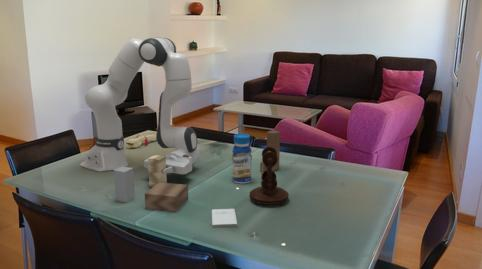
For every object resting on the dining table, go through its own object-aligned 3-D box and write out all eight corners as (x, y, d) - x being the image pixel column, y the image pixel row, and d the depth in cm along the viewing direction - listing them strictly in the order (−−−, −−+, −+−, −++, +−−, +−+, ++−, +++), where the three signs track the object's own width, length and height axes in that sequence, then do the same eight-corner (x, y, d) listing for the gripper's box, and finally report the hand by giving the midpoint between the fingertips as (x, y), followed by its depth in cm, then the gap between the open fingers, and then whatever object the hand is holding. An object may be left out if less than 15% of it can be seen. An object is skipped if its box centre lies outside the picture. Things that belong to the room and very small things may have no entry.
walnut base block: (145, 209, 154) (144, 193, 153) (159, 196, 166) (158, 182, 164) (176, 212, 152) (176, 196, 150) (188, 199, 163) (187, 184, 161)
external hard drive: (212, 229, 140) (211, 213, 152) (237, 228, 140) (234, 212, 152) (212, 224, 139) (211, 209, 151) (237, 223, 140) (234, 208, 152)
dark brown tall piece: (249, 192, 170) (250, 143, 165) (286, 193, 169) (288, 144, 164) (249, 207, 155) (249, 154, 150) (289, 208, 155) (291, 155, 150)
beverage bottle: (254, 179, 185) (255, 134, 180) (246, 185, 177) (247, 138, 172) (237, 176, 188) (237, 132, 183) (228, 182, 181) (228, 136, 176)
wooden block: (267, 173, 191) (268, 134, 187) (259, 171, 194) (260, 133, 190) (279, 169, 198) (280, 131, 194) (271, 167, 201) (272, 129, 197)
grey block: (115, 200, 161) (113, 170, 159) (124, 195, 166) (122, 166, 163) (126, 202, 159) (124, 172, 157) (134, 197, 164) (133, 168, 161)
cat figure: (153, 140, 253) (121, 146, 233) (153, 126, 252) (121, 131, 231) (166, 143, 248) (134, 149, 227) (166, 128, 247) (134, 133, 226)
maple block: (149, 186, 174) (148, 158, 171) (156, 182, 178) (155, 154, 175) (159, 188, 172) (158, 159, 169) (166, 184, 176) (165, 156, 173)
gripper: (154, 151, 188) (134, 160, 176) (194, 157, 180) (177, 166, 168) (155, 165, 190) (135, 174, 178) (195, 171, 182) (177, 181, 169)
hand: (156, 170), depth 173 cm, fingers closed on maple block, 5 cm apart
